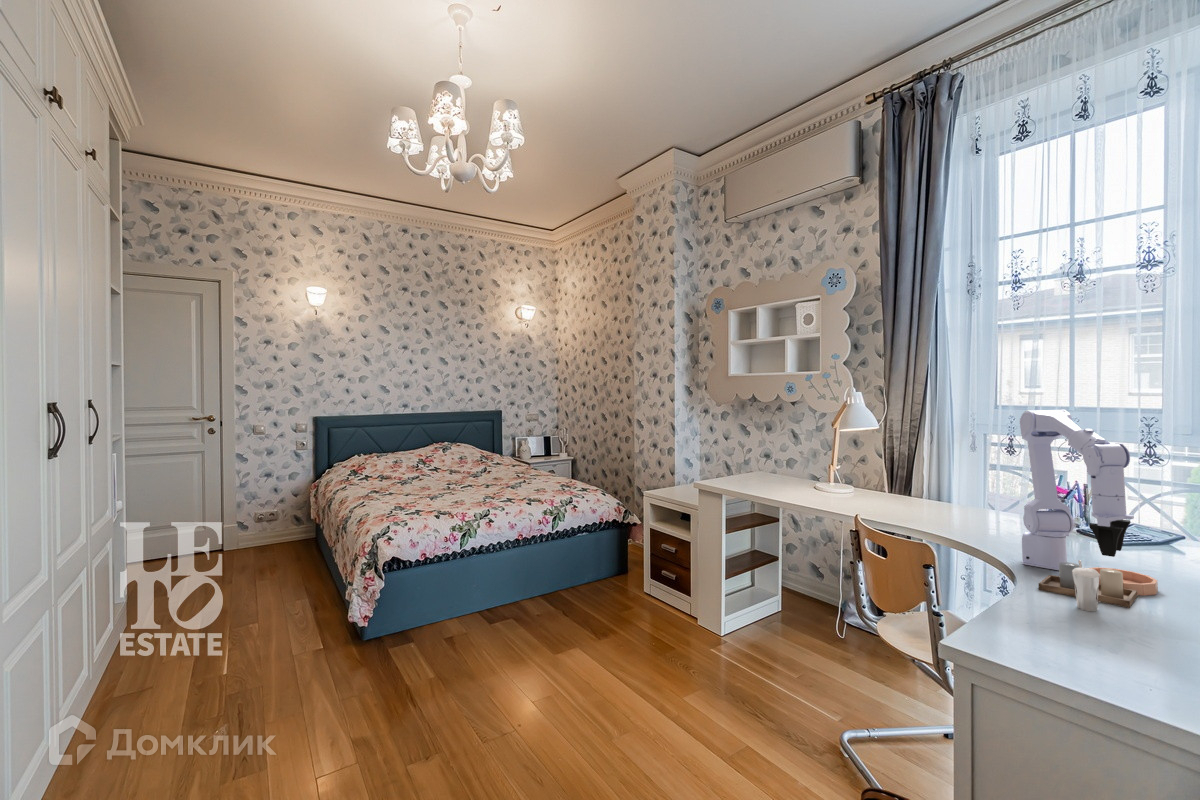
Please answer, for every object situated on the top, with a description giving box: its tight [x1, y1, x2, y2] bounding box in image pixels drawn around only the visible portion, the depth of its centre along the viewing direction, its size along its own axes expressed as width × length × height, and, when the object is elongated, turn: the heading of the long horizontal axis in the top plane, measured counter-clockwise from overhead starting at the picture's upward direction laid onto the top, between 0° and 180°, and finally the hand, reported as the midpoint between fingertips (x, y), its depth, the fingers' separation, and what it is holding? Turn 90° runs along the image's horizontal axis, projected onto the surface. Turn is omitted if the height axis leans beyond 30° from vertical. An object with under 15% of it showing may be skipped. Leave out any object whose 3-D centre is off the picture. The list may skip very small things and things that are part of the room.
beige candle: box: [1100, 569, 1124, 599], centre depth 122 cm, size 4×4×6 cm
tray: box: [1038, 574, 1138, 609], centre depth 126 cm, size 16×10×2 cm, turn 37°
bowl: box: [1088, 566, 1159, 597], centre depth 130 cm, size 13×13×3 cm
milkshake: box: [1072, 559, 1100, 613], centre depth 117 cm, size 4×5×10 cm
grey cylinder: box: [1058, 561, 1080, 590], centre depth 128 cm, size 4×4×6 cm
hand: (1111, 552), depth 123 cm, fingers open, 7 cm apart
